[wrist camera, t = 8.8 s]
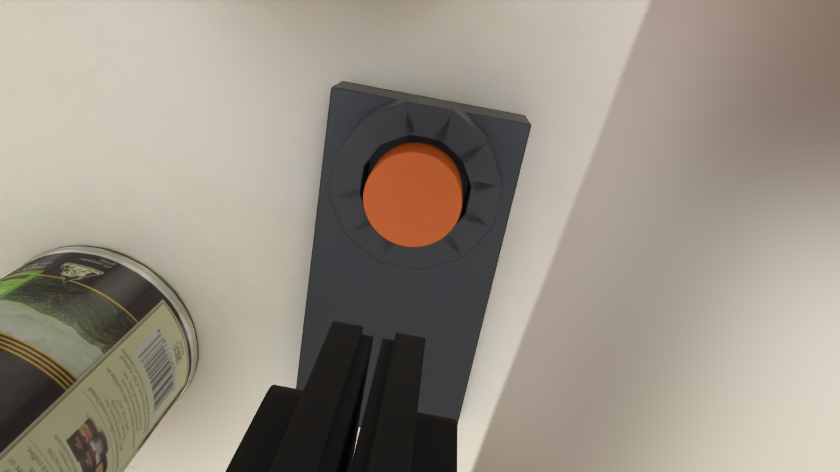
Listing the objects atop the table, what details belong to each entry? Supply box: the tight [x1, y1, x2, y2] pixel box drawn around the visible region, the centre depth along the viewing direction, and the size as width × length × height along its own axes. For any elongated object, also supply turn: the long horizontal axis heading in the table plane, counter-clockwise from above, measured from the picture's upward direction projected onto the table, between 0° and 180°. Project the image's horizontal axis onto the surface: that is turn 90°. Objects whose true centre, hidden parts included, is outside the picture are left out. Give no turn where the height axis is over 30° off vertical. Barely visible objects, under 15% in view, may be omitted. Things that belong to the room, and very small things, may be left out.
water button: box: [296, 81, 531, 427], centre depth 26 cm, size 16×8×4 cm, turn 170°
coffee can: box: [0, 246, 198, 472], centre depth 24 cm, size 10×10×14 cm
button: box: [363, 142, 462, 247], centre depth 22 cm, size 4×4×2 cm
